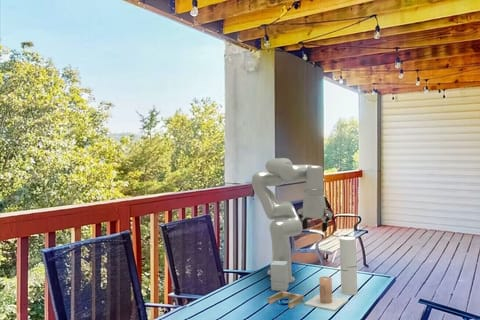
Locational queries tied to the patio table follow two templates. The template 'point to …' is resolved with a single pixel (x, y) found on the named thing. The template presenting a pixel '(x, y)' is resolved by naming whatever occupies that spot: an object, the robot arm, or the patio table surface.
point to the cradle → (293, 297)
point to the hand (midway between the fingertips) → (314, 230)
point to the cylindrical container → (348, 265)
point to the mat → (331, 306)
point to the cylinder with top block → (325, 289)
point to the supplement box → (279, 275)
